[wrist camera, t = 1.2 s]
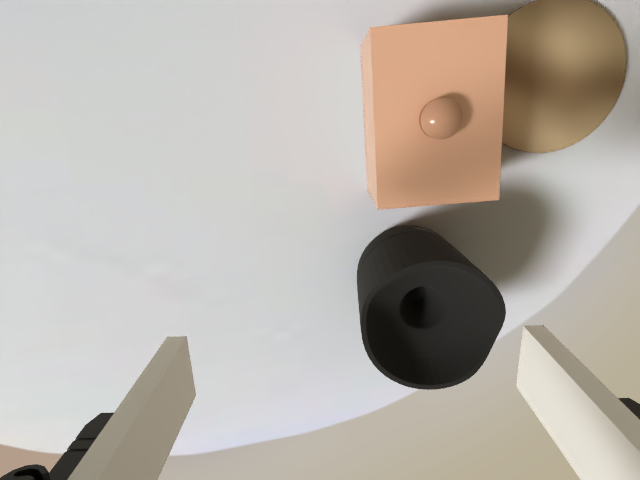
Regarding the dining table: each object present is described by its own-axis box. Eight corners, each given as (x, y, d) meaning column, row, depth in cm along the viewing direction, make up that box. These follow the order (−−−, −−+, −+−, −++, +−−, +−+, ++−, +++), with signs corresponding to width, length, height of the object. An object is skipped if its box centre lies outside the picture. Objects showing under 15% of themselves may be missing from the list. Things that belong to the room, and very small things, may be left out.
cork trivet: (475, 4, 30) (478, 2, 29) (630, -10, 30) (636, -13, 29) (471, 157, 33) (474, 158, 33) (610, 146, 33) (616, 146, 32)
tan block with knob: (360, 45, 31) (371, 23, 23) (468, 35, 31) (515, 10, 23) (367, 190, 34) (379, 212, 27) (464, 182, 34) (505, 203, 26)
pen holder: (477, 287, 37) (530, 349, 27) (385, 336, 38) (404, 410, 29) (428, 199, 34) (467, 233, 25) (332, 255, 36) (334, 307, 26)
